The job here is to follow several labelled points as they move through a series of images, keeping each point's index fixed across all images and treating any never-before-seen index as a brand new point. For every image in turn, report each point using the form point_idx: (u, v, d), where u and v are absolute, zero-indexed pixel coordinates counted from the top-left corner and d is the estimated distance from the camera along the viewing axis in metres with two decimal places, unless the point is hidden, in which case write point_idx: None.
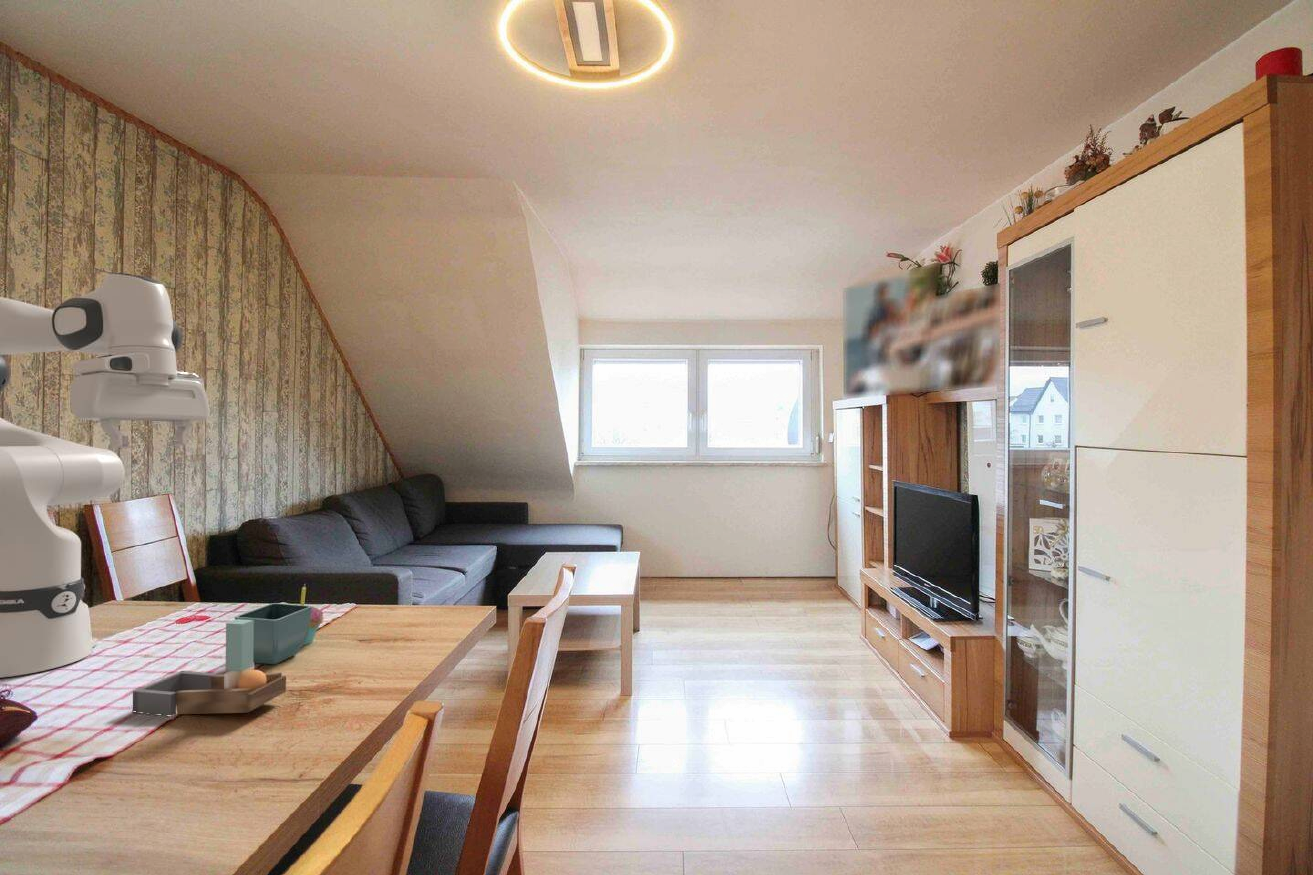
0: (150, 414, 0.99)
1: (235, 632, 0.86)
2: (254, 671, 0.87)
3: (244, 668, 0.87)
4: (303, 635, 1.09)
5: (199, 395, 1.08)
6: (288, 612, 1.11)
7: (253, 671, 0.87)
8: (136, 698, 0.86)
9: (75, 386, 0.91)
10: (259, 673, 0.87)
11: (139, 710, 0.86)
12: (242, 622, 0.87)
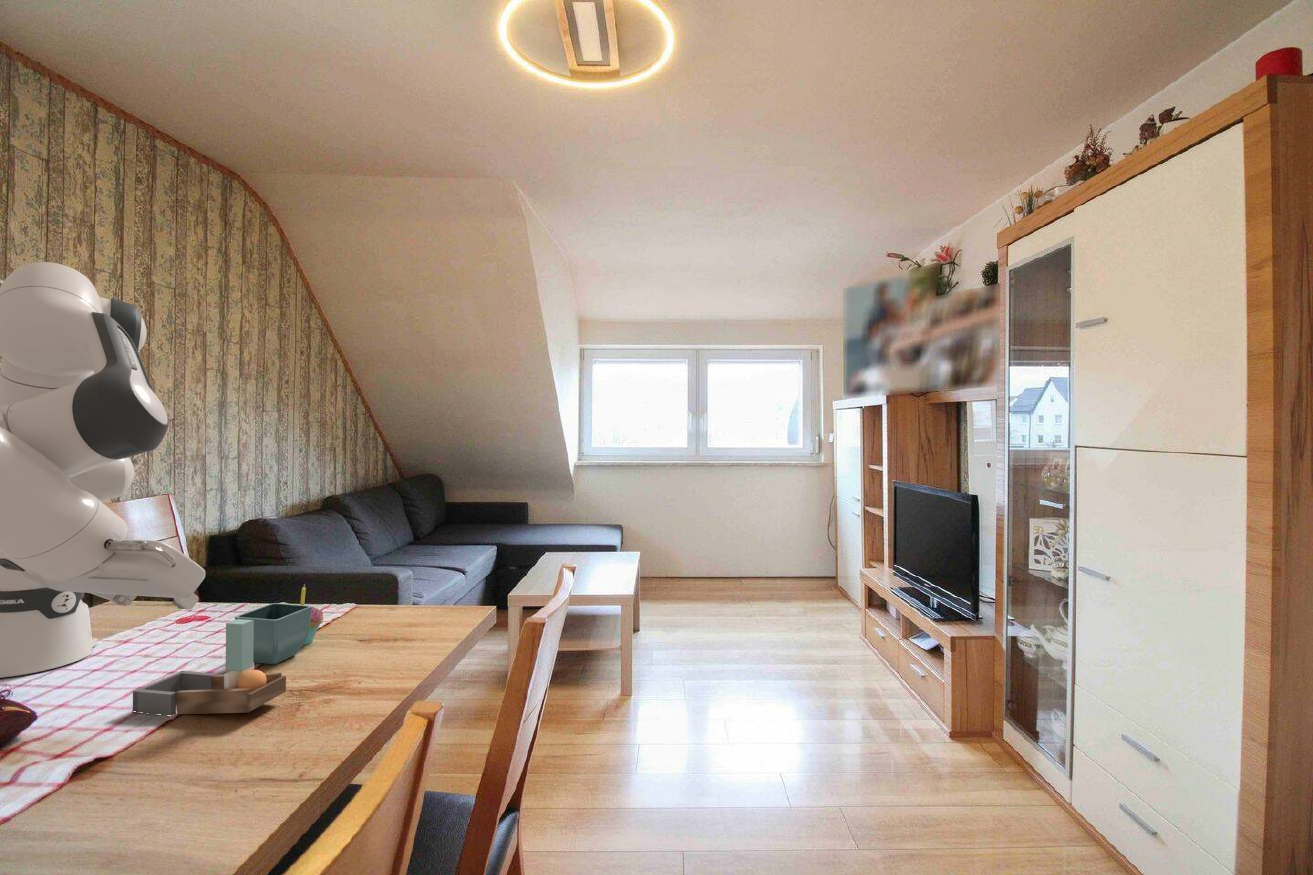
0: (110, 592, 0.70)
1: (235, 632, 0.86)
2: (254, 671, 0.87)
3: (244, 668, 0.87)
4: (303, 635, 1.09)
5: (151, 578, 0.66)
6: (288, 612, 1.11)
7: (253, 671, 0.87)
8: (136, 698, 0.86)
9: None
10: (259, 673, 0.87)
11: (139, 710, 0.86)
12: (242, 622, 0.87)
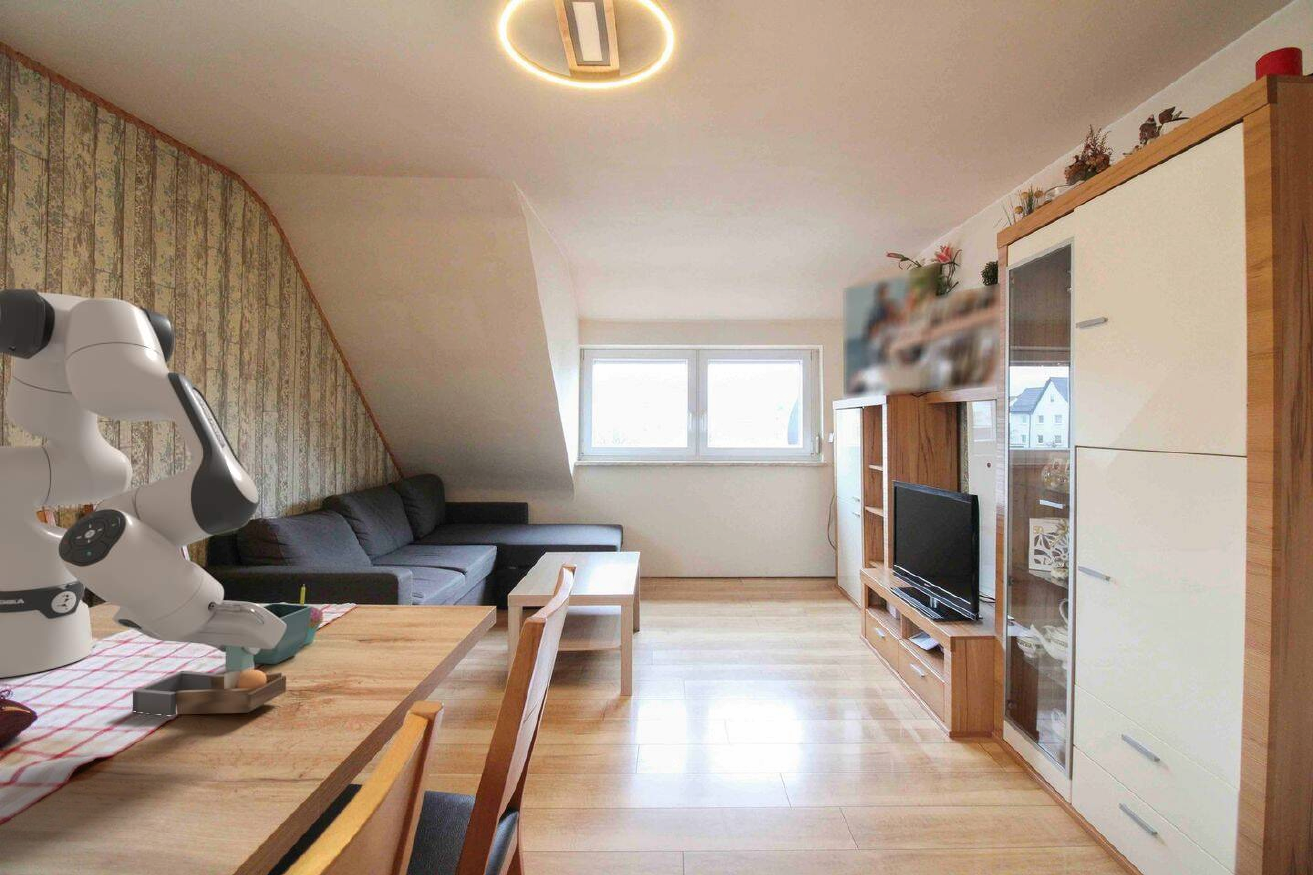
0: (206, 643, 0.83)
1: None
2: (254, 671, 0.87)
3: (244, 668, 0.87)
4: (303, 635, 1.09)
5: (245, 634, 0.79)
6: (288, 612, 1.11)
7: (253, 671, 0.87)
8: (136, 698, 0.86)
9: None
10: (259, 673, 0.87)
11: (139, 710, 0.86)
12: None
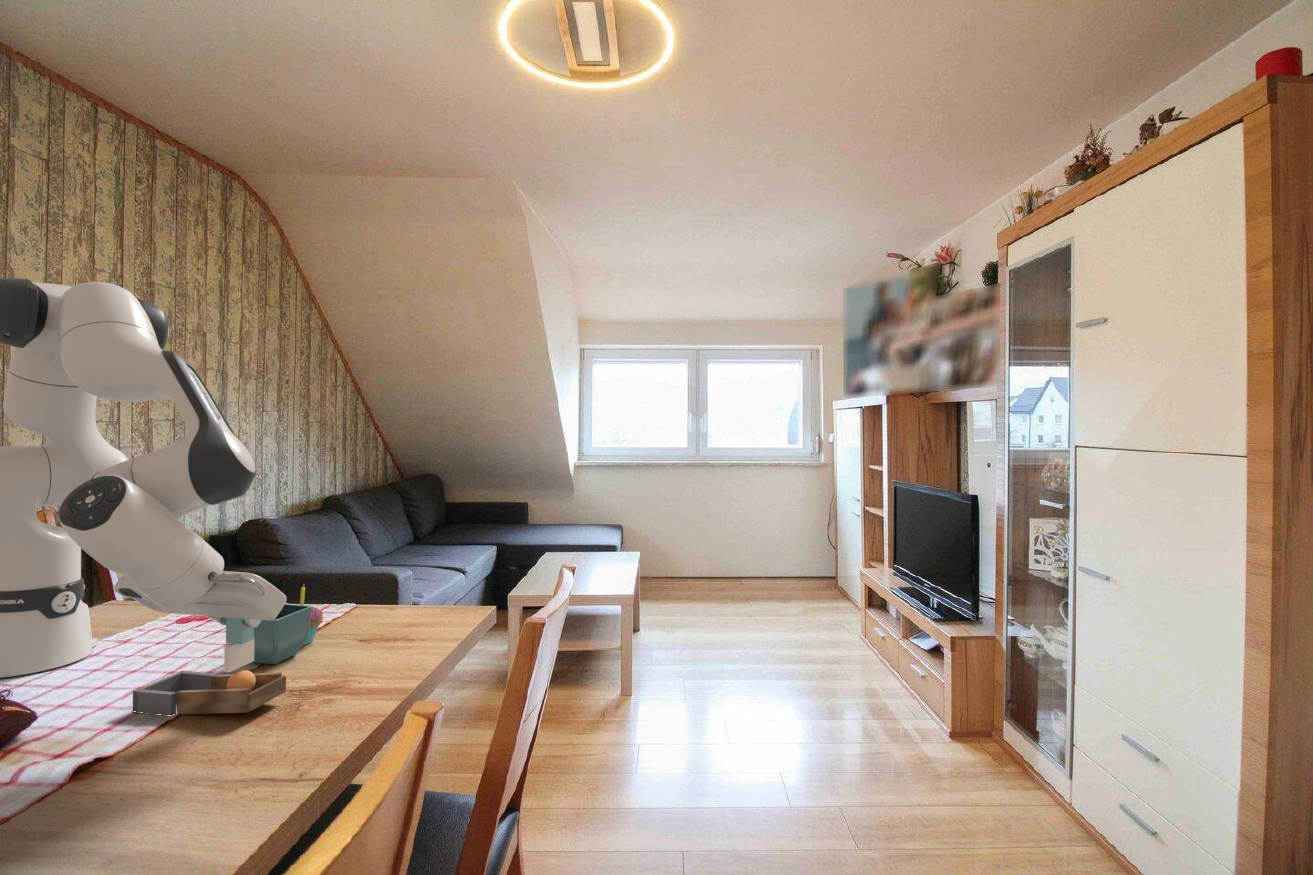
0: (206, 615, 0.83)
1: None
2: None
3: (244, 641, 0.87)
4: (303, 635, 1.09)
5: (245, 605, 0.79)
6: (288, 612, 1.11)
7: (233, 675, 0.87)
8: (136, 698, 0.86)
9: None
10: (238, 671, 0.88)
11: (139, 710, 0.86)
12: None
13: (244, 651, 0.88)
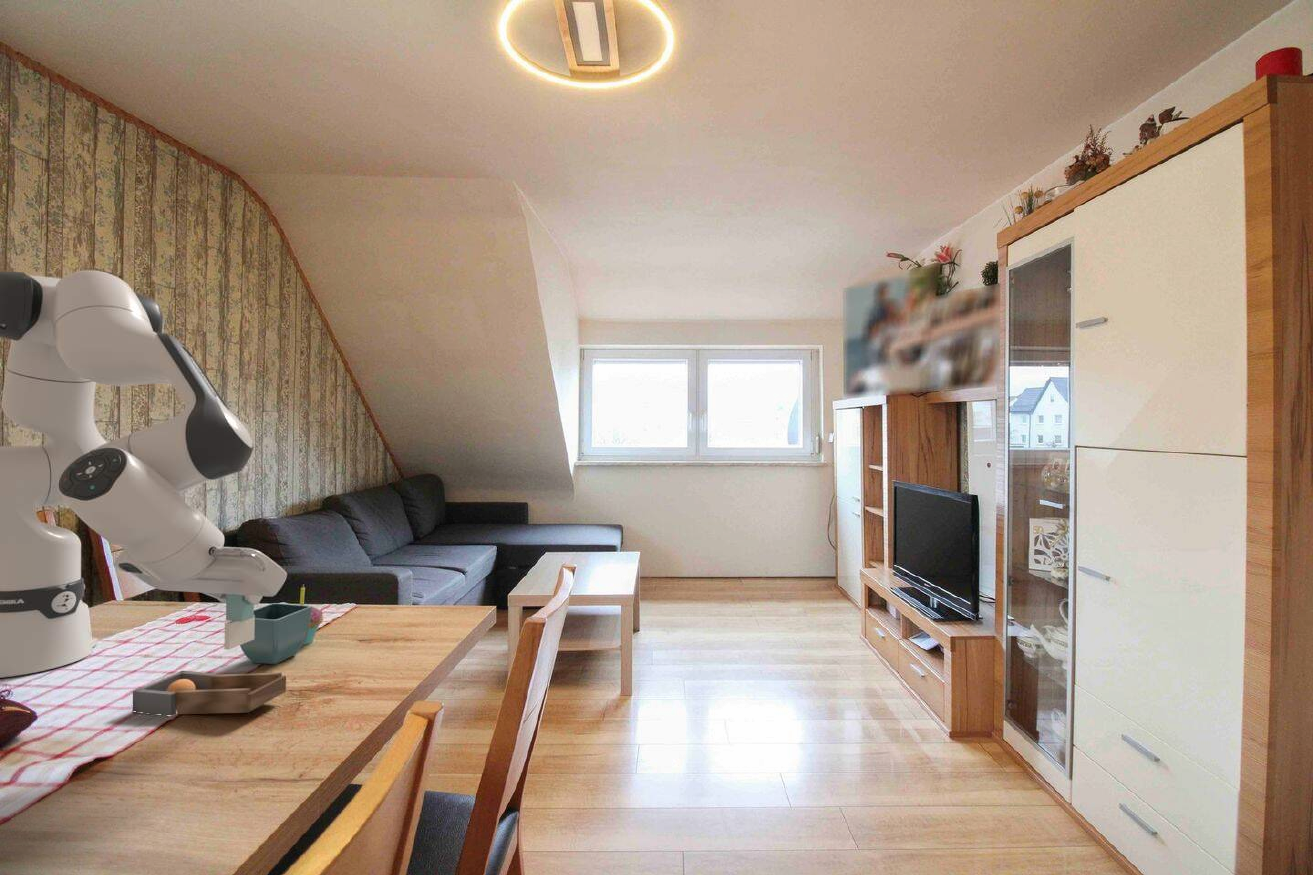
0: (207, 591, 0.83)
1: None
2: None
3: (244, 619, 0.87)
4: (303, 635, 1.09)
5: (246, 580, 0.79)
6: (288, 612, 1.11)
7: (172, 683, 0.89)
8: (136, 698, 0.86)
9: None
10: None
11: (139, 710, 0.86)
12: None
13: (244, 629, 0.88)
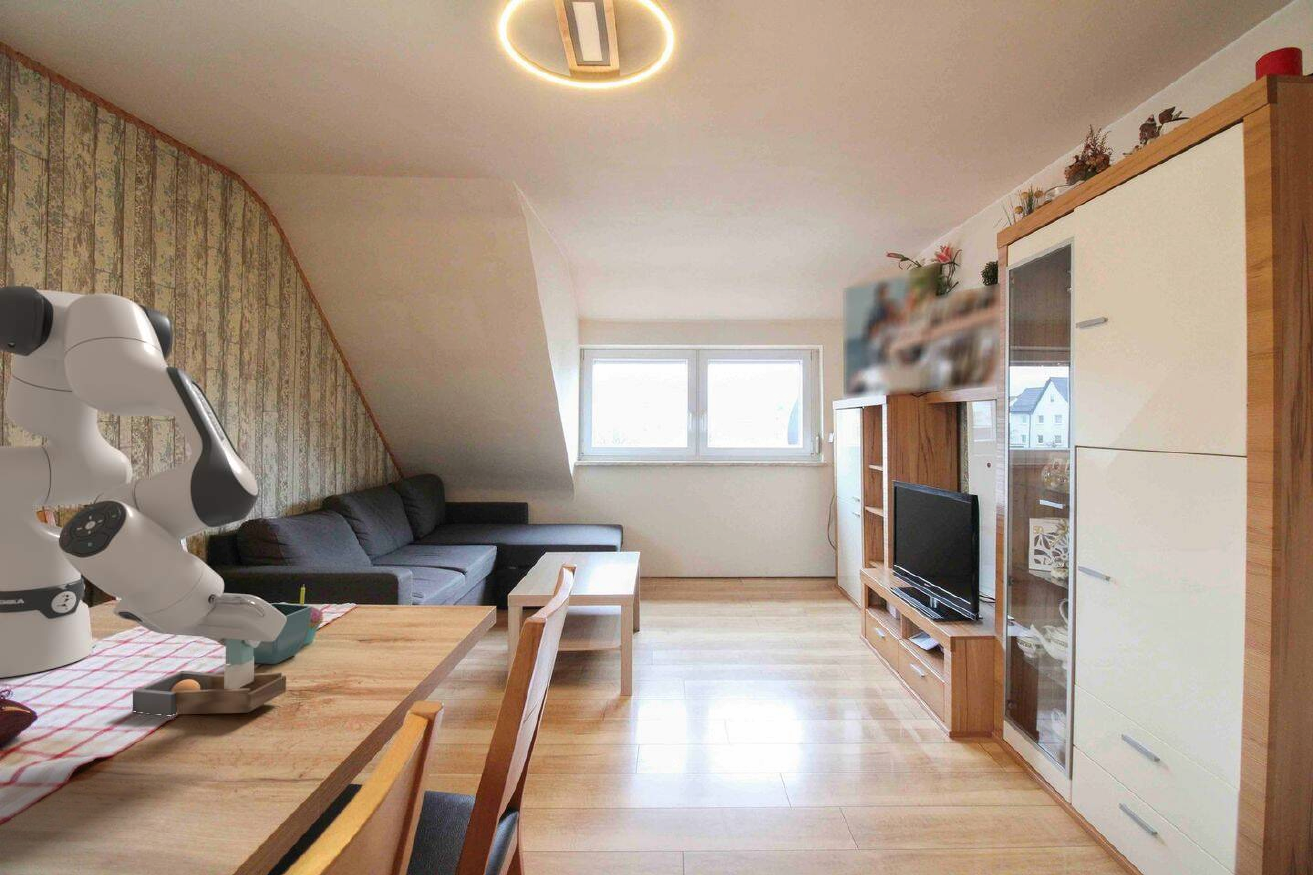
0: (206, 636, 0.83)
1: None
2: None
3: (244, 662, 0.87)
4: (303, 635, 1.09)
5: (246, 627, 0.79)
6: (288, 612, 1.11)
7: (181, 681, 0.89)
8: (136, 698, 0.86)
9: None
10: (188, 680, 0.89)
11: (139, 710, 0.86)
12: None
13: (244, 671, 0.88)
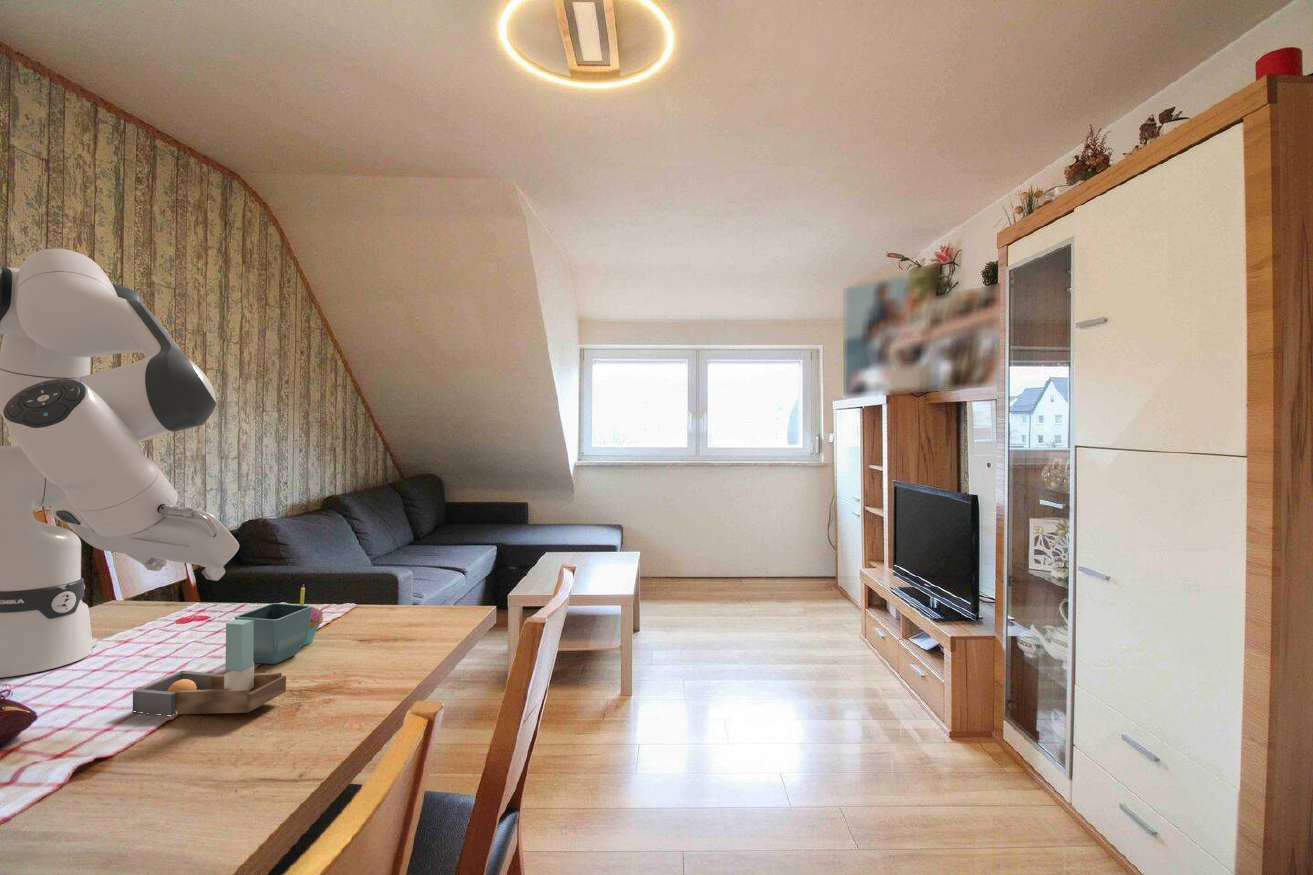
0: (148, 555, 0.76)
1: (235, 632, 0.86)
2: (175, 682, 0.89)
3: (244, 668, 0.87)
4: (303, 635, 1.09)
5: (193, 544, 0.72)
6: (288, 612, 1.11)
7: None
8: (136, 698, 0.86)
9: None
10: None
11: (139, 710, 0.86)
12: (242, 622, 0.87)
13: (244, 678, 0.88)
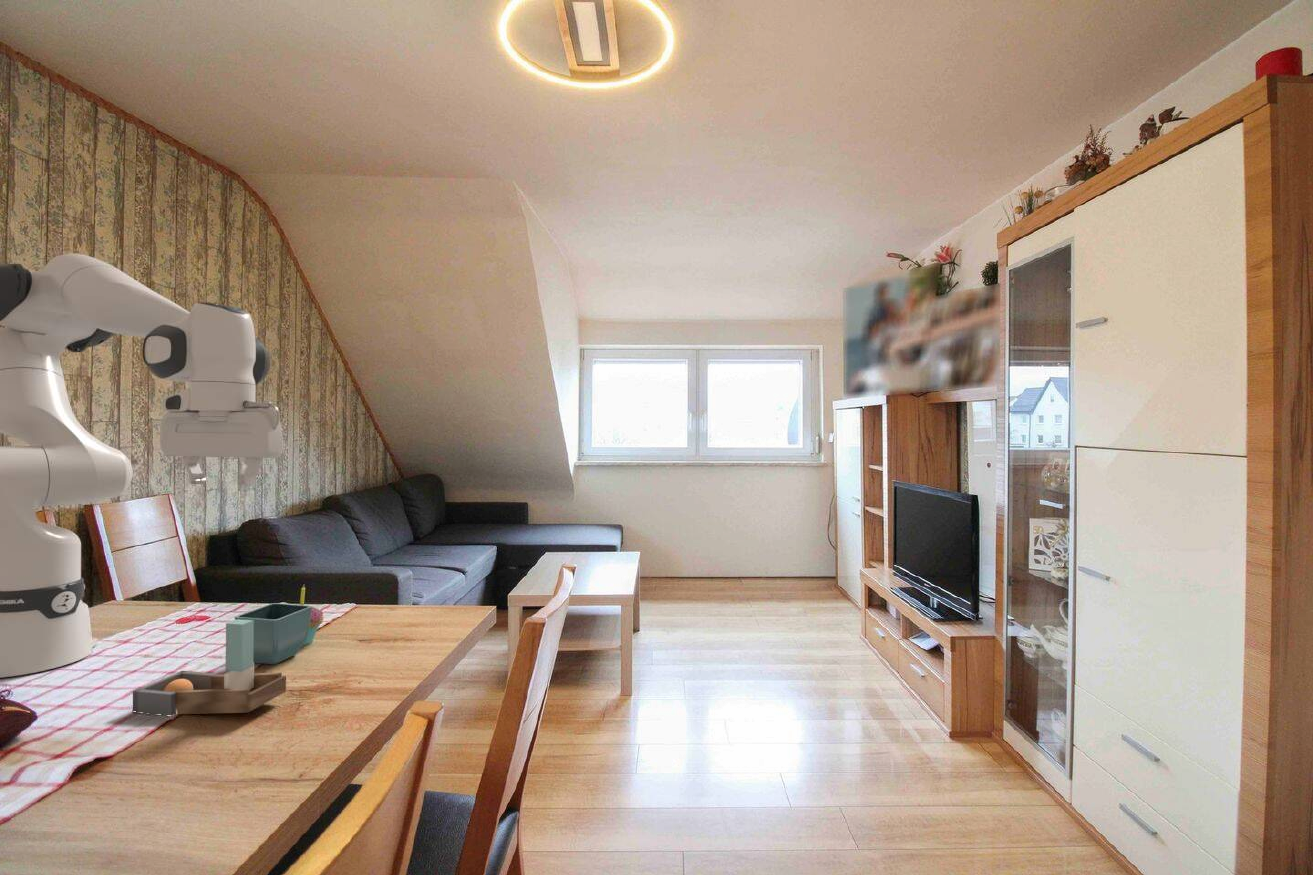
0: (207, 452, 0.94)
1: (235, 632, 0.86)
2: None
3: (244, 668, 0.87)
4: (303, 635, 1.09)
5: (256, 428, 0.93)
6: (288, 612, 1.11)
7: None
8: (136, 698, 0.86)
9: None
10: (174, 680, 0.89)
11: (139, 710, 0.86)
12: (242, 622, 0.87)
13: (244, 678, 0.88)
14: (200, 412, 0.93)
